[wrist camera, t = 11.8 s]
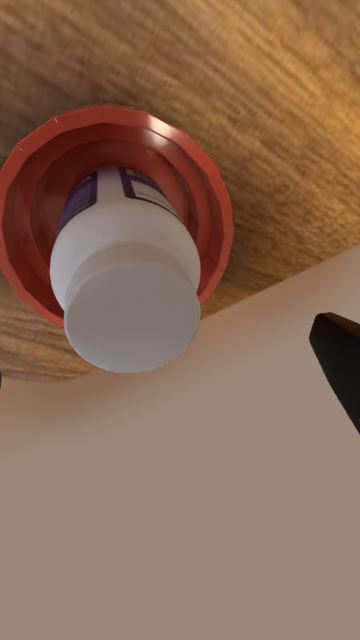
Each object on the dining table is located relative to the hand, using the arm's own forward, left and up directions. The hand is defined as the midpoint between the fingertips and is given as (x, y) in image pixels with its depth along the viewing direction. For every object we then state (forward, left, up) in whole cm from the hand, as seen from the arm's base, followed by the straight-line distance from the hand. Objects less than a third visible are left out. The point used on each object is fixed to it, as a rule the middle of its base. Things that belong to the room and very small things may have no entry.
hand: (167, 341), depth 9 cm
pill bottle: (+1, +1, -11) cm, 11 cm away
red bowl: (+1, +1, -11) cm, 11 cm away
